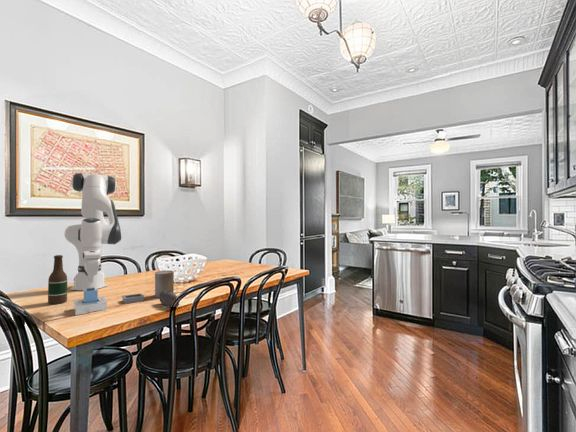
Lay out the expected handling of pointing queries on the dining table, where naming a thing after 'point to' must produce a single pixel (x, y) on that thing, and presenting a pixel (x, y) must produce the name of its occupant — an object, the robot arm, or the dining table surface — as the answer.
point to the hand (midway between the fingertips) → (90, 281)
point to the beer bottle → (57, 283)
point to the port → (89, 306)
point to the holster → (132, 298)
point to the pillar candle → (164, 282)
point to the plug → (90, 295)
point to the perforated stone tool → (167, 298)
